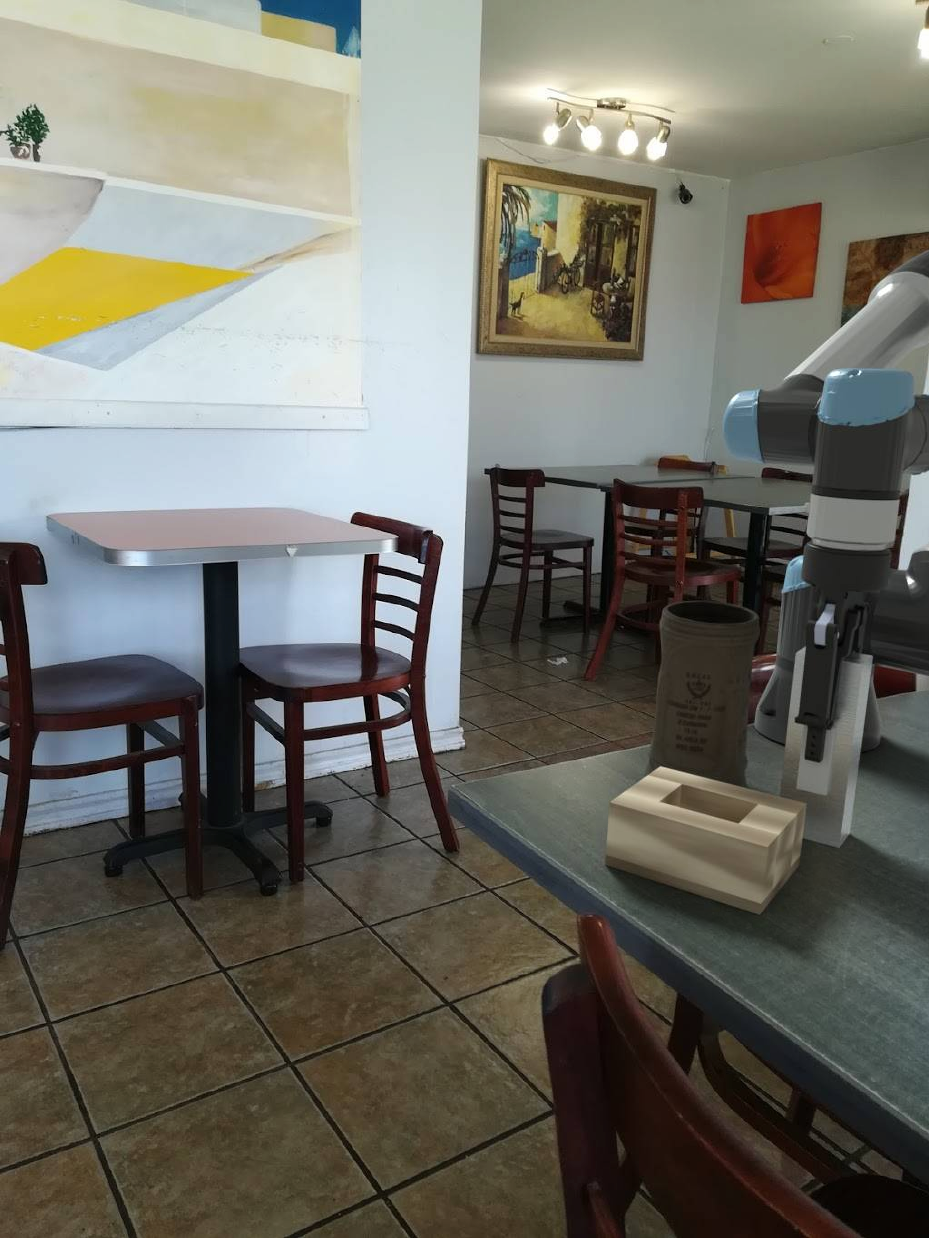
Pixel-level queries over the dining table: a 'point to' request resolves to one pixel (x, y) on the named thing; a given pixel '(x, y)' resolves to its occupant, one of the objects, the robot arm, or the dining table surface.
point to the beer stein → (704, 690)
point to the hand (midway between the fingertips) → (818, 782)
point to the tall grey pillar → (834, 809)
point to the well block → (706, 837)
